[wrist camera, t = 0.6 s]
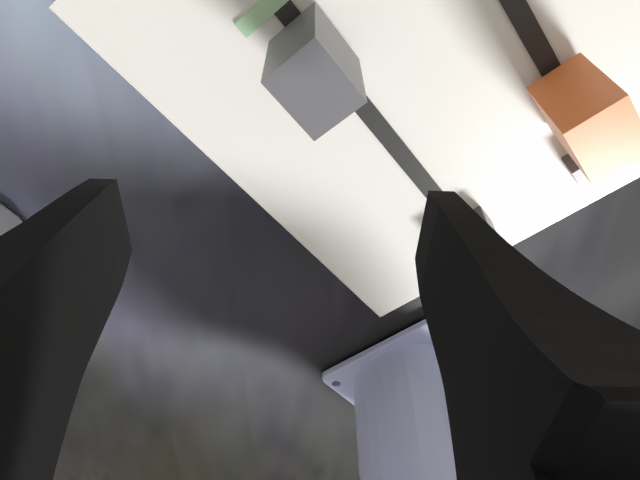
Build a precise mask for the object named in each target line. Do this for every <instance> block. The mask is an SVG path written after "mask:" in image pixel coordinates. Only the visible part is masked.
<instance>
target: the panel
mask: <svg viewBox="0 0 640 480" xmlns="http://www.w3.org/2000/svg"><path fill="white" fill-rule="evenodd" d="M314 2H316V3H317V5H318V6H319V7H320V9H321V10H322V11H323V12H324V14H325V15H326V16H327V18H328V19H329V20H330V22H331V23H332V24H333V25H334V27H335V28H336V29H337V31H338V32H339V33H340V35H341V36H342V37H343V38H344V40H345V41H346V42H347V44H348V45H349V46H350V47H351V49H352V50H353V51H354V53H355V54H356V55H357V57H358V58H359V60H360V66H361V71H362V76H363V82H364V87H365V92H366V98H367V103H366V104H364V105H363V106H362V107H360V108H359V109H358V110H356V111H355V112H354V113H352V114H351V115H349V116H348V117H347V118H345V119H344V120H343V121H341V122H340V123H339V124H337V125H336V126H335V127H333V128H332V129H330V130H329V131H328V132H326V133H325V134H324V135H322V136H321V137H320V138H318V139H317V140H316V141H313V140H312V138H311V137H310V136H309V135H308V134H307V133H306V132H305V131H304V130H303V129H302V127H301V126H300V125H299V124H298V123H297V122H296V121H295V120H294V119H293V118H292V117H291V115H290V114H289V113H288V112H287V111H286V110H285V109H284V108H283V107H282V106H281V104H280V103H279V102H278V101H277V100H276V99H275V98H274V97H273V96H272V95H271V93H270V92H269V91H268V90H267V89H266V88H265V87H264V86H263V85H262V84H261V78H262V73H263V68H264V63H265V58H266V53H267V48H268V43H269V41H270V40H271V39H272V38H273V37H274V36H275V35H277V34H278V33H279V32H280V31H281V30H282V29H284V28H285V27H286V26H287V25H288V24H289V23H290V22H292V21H293V20H294V19H295V18H296V17H297V16H299V15H300V14H301V13H302V12H303V11H304V10H305V9H307V8H308V7H309V6H310V5H311V4H312V3H314ZM50 9H51V10H52V11H53V12H54V13H55V14H56V15H57V16H58V17H59V18H60V19H62V20H63V21H64V22H65V23H66V24H67V25H68V26H69V27H70V28H71V29H72V30H73V31H74V32H75V33H77V34H78V35H79V36H80V37H81V38H82V39H83V40H84V41H85V42H86V43H87V44H88V45H89V46H90V47H92V48H93V49H94V50H95V51H96V52H97V53H98V54H99V55H100V56H101V57H102V58H103V59H104V60H105V61H106V62H108V63H109V64H110V65H111V66H112V67H113V68H114V69H115V70H116V71H117V72H118V73H119V74H120V75H121V76H123V77H124V78H125V79H126V80H127V81H128V82H129V83H130V84H131V85H132V86H133V87H134V88H135V89H136V90H137V91H139V92H140V93H141V94H142V95H143V96H144V97H145V98H146V99H147V100H148V101H149V102H150V103H151V104H152V105H154V106H155V107H156V108H157V109H158V110H159V111H160V112H161V113H162V114H163V115H164V116H165V117H166V118H167V119H169V120H170V121H171V122H172V123H173V124H174V125H175V126H176V127H177V128H178V129H179V130H180V131H181V132H182V133H183V134H185V135H186V136H187V137H188V138H189V139H190V140H191V141H192V142H193V143H194V144H195V145H196V146H197V147H198V148H200V149H201V150H202V151H203V152H204V153H205V154H206V155H207V156H208V157H209V158H210V159H211V160H212V161H213V162H214V163H216V164H217V165H218V166H219V167H220V168H221V169H222V170H223V171H224V172H225V173H226V174H227V175H228V176H229V177H231V178H232V179H233V180H234V181H235V182H236V183H237V184H238V185H239V186H240V187H241V188H242V189H243V190H244V191H246V192H247V193H248V194H249V195H250V196H251V197H252V198H253V199H254V200H255V201H256V202H257V203H258V204H259V205H260V206H262V207H263V208H264V209H265V210H266V211H267V212H268V213H269V214H270V215H271V216H272V217H273V218H274V219H275V220H277V221H278V222H279V223H280V224H281V225H282V226H283V227H284V228H285V229H286V230H287V231H288V232H289V233H290V234H292V235H293V236H294V237H295V238H296V239H297V240H298V241H299V242H300V243H301V244H302V245H303V246H304V247H305V248H306V249H308V250H309V251H310V252H311V253H312V254H313V255H314V256H315V257H316V258H317V259H318V260H319V261H320V262H321V263H323V264H324V265H325V266H326V267H327V268H328V269H329V270H330V271H331V272H332V273H333V274H334V275H335V276H336V277H337V278H339V279H340V280H341V281H342V282H343V283H344V284H345V285H346V286H347V287H348V288H349V289H350V290H351V291H352V292H354V293H355V294H356V295H357V296H358V297H359V298H360V299H361V300H362V301H363V302H364V303H365V304H366V305H367V306H369V307H370V308H371V309H372V310H373V311H374V312H375V313H376V314H377V315H378V316H379V317H382V316H383V315H385V314H387V313H389V312H391V311H393V310H395V309H396V308H398V307H400V306H402V305H404V304H406V303H408V302H409V301H411V300H413V299H415V298H417V297H419V296H420V295H419V288H418V281H417V273H416V264H415V255H416V250H417V245H418V240H419V235H420V230H421V225H422V220H423V215H424V210H425V205H426V200H427V195H428V190H429V191H454V192H456V193H457V194H458V195H459V196H460V197H461V198H462V199H463V200H464V201H465V202H466V203H467V204H468V205H469V206H470V207H471V208H472V209H473V210H474V211H475V212H476V213H477V214H478V215H479V216H480V217H481V218H482V219H483V220H484V221H486V222H487V223H488V224H489V225H490V226H491V227H492V228H493V229H494V230H495V231H496V232H497V233H498V234H499V235H500V236H501V237H502V238H504V239H505V240H506V241H507V242H508V243H509V244H510V245H511V246H513V245H515V244H517V243H518V242H520V241H522V240H524V239H526V238H528V237H530V236H531V235H533V234H535V233H537V232H539V231H541V230H543V229H544V228H546V227H548V226H550V225H552V224H554V223H555V222H557V221H559V220H561V219H563V218H565V217H567V216H568V215H570V214H572V213H574V212H576V211H578V210H580V209H581V208H583V207H585V206H587V205H589V204H591V203H592V202H594V201H596V200H598V199H600V198H602V197H604V196H605V195H607V194H609V193H611V192H613V191H615V190H617V189H618V188H620V187H622V186H624V185H626V184H628V183H629V182H631V181H633V180H635V179H637V178H639V177H640V161H638V162H636V163H635V164H633V165H631V166H629V167H627V168H625V169H624V170H622V171H620V172H618V173H616V174H615V175H613V176H611V177H609V178H607V179H606V180H604V181H602V182H600V183H598V184H597V185H595V186H593V185H592V184H591V183H590V182H589V180H588V179H587V178H586V176H585V175H584V174H583V172H582V171H581V170H580V168H579V167H578V166H577V164H576V163H575V162H574V160H573V159H572V158H571V157H570V155H569V154H568V153H567V151H566V150H565V149H564V147H563V146H562V145H561V143H560V142H559V141H558V139H557V138H556V137H555V136H554V134H553V132H552V131H551V129H550V127H549V126H548V124H547V122H546V121H545V119H544V117H543V115H542V114H541V112H540V110H539V109H538V107H537V105H536V104H535V102H534V100H533V99H532V97H531V95H530V94H529V92H528V90H527V89H526V88H527V87H528V86H530V85H531V84H533V83H534V82H536V81H537V80H539V79H540V78H542V77H543V76H545V75H546V74H548V73H549V72H551V71H552V70H554V69H555V68H557V67H558V66H560V65H562V64H563V63H565V62H566V61H568V60H569V59H571V58H572V57H574V56H575V55H577V54H578V53H582V54H583V55H584V56H585V57H586V58H587V59H588V60H590V61H591V62H592V63H593V64H594V65H595V66H596V67H598V68H599V69H600V70H601V71H602V72H603V73H604V74H606V75H607V76H608V77H609V78H610V79H611V80H612V81H614V82H615V83H616V84H617V85H618V86H619V87H620V88H622V89H623V90H624V91H625V92H626V93H627V94H628V95H629V96H630V98H631V101H632V103H633V105H634V107H635V109H636V111H637V113H638V115H639V117H640V0H56V1H55V2H54V3H53V4H52V5H51V6H50Z"/></svg>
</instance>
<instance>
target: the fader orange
mask: <svg viewBox="0 0 640 480" xmlns="http://www.w3.org/2000/svg"><path fill="white" fill-rule="evenodd" d="M526 89H527V90H528V92H529V94H530V95H531V97H532V99H533V100H534V102H535V104H536V105H537V107H538V109H539V110H540V112H541V114H542V115H543V117H544V119H545V121H546V122H547V124H548V126H549V127H550V129H551V131H552V132H553V134H554V136H555V137H556V138H557V139H558V141H559V142H560V143H561V145H562V146H563V147H564V149H565V150H566V151H567V153H568V154H569V155H570V157H571V158H572V159H573V160H574V162H575V163H576V164H577V166H578V167H579V168H580V170H581V171H582V172H583V174H584V175H585V176H586V178H587V179H588V180H589V182H590V183H591V184H592V185H593V186H595V185H597V184H598V183H600V182H602V181H604V180H606V179H607V178H609V177H611V176H613V175H615V174H616V173H618V172H620V171H622V170H624V169H625V168H627V167H629V166H631V165H633V164H635V163H636V162H638V161H640V117H639V115H638V113H637V111H636V109H635V107H634V105H633V103H632V101H631V98H630V96H629V95H628V94H627V93H626V92H625V91H624V90H623V89H622V88H620V87H619V86H618V85H617V84H616V83H615V82H614V81H612V80H611V79H610V78H609V77H608V76H607V75H606V74H604V73H603V72H602V71H601V70H600V69H599V68H598V67H596V66H595V65H594V64H593V63H592V62H591V61H590V60H588V59H587V58H586V57H585V56H584V55H583V54H582V53H578V54H577V55H575V56H574V57H572V58H571V59H569V60H568V61H566V62H565V63H563V64H562V65H560V66H558V67H557V68H555V69H554V70H552V71H551V72H549V73H548V74H546V75H545V76H543V77H542V78H540V79H539V80H537V81H536V82H534V83H533V84H531V85H530V86H528V87H527V88H526Z"/></svg>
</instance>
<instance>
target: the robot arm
mask: <svg viewBox="0 0 640 480" xmlns="http://www.w3.org/2000/svg"><path fill="white" fill-rule="evenodd" d="M131 251H132V248H131V244H130V239H129V234H128V230H127V225H126V221H125V216H124V212H123V207H122V203H121V198H120V193H119V189H118V184H117V180H112V179H88V180H87V181H85V182H83V183H81V184H80V185H78V186H76V187H75V188H73V189H72V190H70V191H69V192H67V193H66V194H64V195H63V196H61V197H60V198H58V199H57V200H55V201H54V202H52V203H51V204H49V205H48V206H46V207H45V208H43V209H42V210H40V211H39V212H37V213H36V214H34V215H33V216H31V217H30V218H28V219H27V220H25V221H24V222H22V223H20V224H19V225H17V226H16V227H14V228H12V229H11V230H9V231H7V232H6V233H4V234H2V235H1V236H0V480H53V476H54V472H55V468H56V464H57V460H58V456H59V453H60V449H61V446H62V442H63V439H64V435H65V432H66V428H67V425H68V421H69V418H70V415H71V411H72V408H73V405H74V402H75V399H76V395H77V392H78V389H79V386H80V383H81V380H82V377H83V375H84V372H85V369H86V367H87V364H88V362H89V360H90V357H91V355H92V353H93V351H94V348H95V346H96V344H97V342H98V339H99V337H100V335H101V333H102V330H103V328H104V326H105V324H106V322H107V319H108V317H109V315H110V313H111V310H112V308H113V306H114V303H115V301H116V299H117V296H118V294H119V292H120V289H121V287H122V284H123V281H124V277H125V274H126V270H127V267H128V263H129V259H130V255H131ZM415 264H416V273H417V281H418V288H419V295H420V299H421V303H422V307H423V310H424V314H425V318H426V319H424V320H422V321H420V322H418V323H416V324H414V325H413V326H411V327H409V328H407V329H405V330H403V331H401V332H399V333H397V334H395V335H393V336H391V337H389V338H387V339H386V340H384V341H382V342H380V343H378V344H376V345H374V346H372V347H370V348H368V349H366V350H364V351H362V352H360V353H359V354H357V355H355V356H353V357H351V358H349V359H347V360H345V361H343V362H341V363H339V364H337V365H335V366H333V367H332V368H330V369H328V370H326V371H324V372H323V374H322V380H323V382H324V383H325V384H327V385H328V386H329V387H331V388H332V389H333V390H334V391H336V392H337V393H338V394H340V395H341V396H342V397H344V398H345V399H346V400H348V401H349V402H350V403H351V404H353V405H354V406H355V418H356V433H357V448H358V462H359V477H360V480H640V330H638V329H636V328H634V327H632V326H631V325H629V324H627V323H625V322H623V321H621V320H619V319H617V318H615V317H614V316H612V315H610V314H608V313H607V312H605V311H603V310H601V309H600V308H598V307H596V306H595V305H593V304H591V303H589V302H588V301H586V300H584V299H583V298H581V297H580V296H578V295H576V294H575V293H573V292H572V291H570V290H569V289H567V288H566V287H565V286H563V285H562V284H560V283H559V282H557V281H556V280H554V279H553V278H552V277H550V276H549V275H547V274H546V273H545V272H543V271H542V270H541V269H539V268H538V267H537V266H535V265H534V264H533V263H532V262H531V261H529V260H528V259H527V258H526V257H524V256H523V255H522V254H521V253H520V252H518V251H517V250H516V249H515V248H514V247H513V246H511V245H510V244H509V243H508V242H507V241H506V240H505V239H504V238H502V237H501V236H500V235H499V234H498V233H497V232H496V231H495V230H494V229H493V228H492V227H491V226H490V225H489V224H488V223H487V222H486V221H484V220H483V219H482V218H481V217H480V216H479V215H478V214H477V213H476V212H475V211H474V210H473V209H472V208H471V207H470V206H469V205H468V204H467V203H466V202H465V201H464V200H463V199H462V198H461V197H460V196H459V195H458V194H457V193H456V192H454V191H429V190H428V195H427V200H426V205H425V210H424V215H423V220H422V225H421V230H420V235H419V240H418V245H417V250H416V255H415Z"/></svg>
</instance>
